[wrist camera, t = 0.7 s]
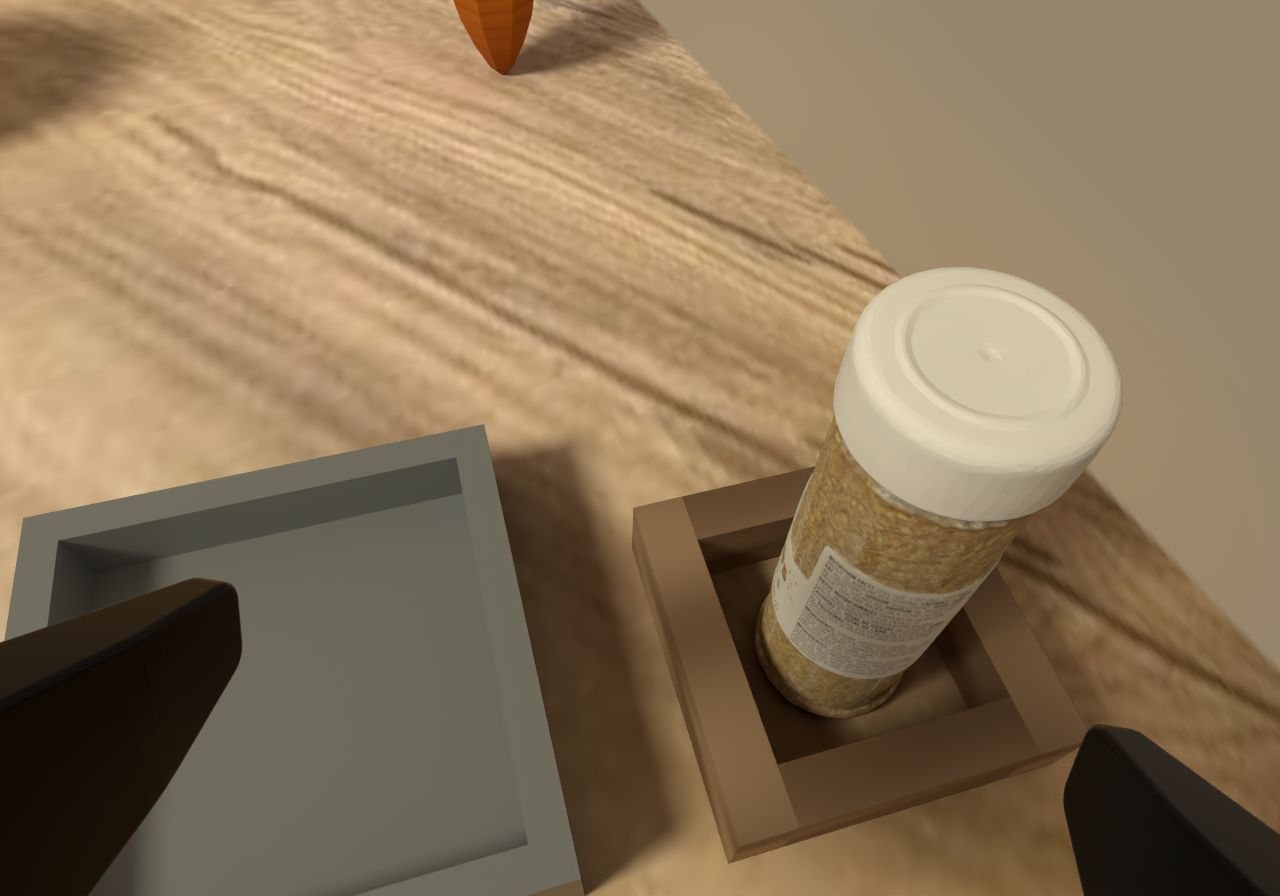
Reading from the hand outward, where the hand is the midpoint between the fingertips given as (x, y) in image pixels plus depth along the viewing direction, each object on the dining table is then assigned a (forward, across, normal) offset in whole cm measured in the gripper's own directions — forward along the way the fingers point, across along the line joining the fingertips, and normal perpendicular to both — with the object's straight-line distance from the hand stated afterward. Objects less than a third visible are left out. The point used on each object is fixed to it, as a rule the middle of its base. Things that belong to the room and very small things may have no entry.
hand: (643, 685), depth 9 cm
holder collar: (+14, -5, +9) cm, 18 cm away
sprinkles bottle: (+15, -5, +9) cm, 18 cm away
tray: (+11, +10, +11) cm, 18 cm away
